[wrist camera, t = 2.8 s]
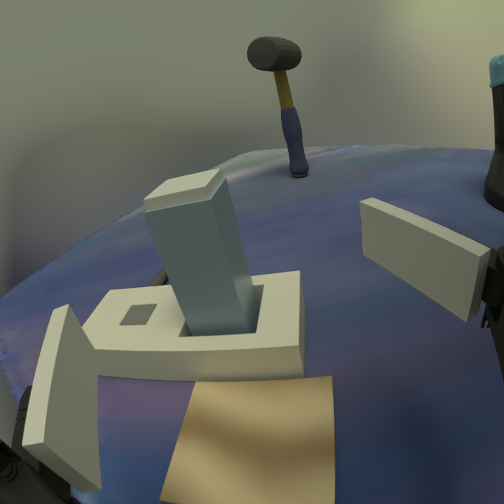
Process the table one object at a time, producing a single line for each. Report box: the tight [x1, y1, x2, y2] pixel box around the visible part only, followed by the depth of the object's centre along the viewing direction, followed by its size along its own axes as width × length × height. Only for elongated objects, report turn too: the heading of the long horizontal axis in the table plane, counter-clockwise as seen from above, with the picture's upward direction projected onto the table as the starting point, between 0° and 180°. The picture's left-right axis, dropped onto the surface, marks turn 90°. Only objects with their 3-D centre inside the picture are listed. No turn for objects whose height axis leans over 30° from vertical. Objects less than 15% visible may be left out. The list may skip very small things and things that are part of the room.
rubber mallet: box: [247, 37, 309, 177], centre depth 59 cm, size 12×8×30 cm, turn 152°
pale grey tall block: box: [143, 168, 260, 337], centre depth 24 cm, size 4×4×14 cm
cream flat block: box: [82, 267, 305, 382], centre depth 31 cm, size 19×20×4 cm
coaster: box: [159, 376, 335, 504], centre depth 17 cm, size 10×10×1 cm
